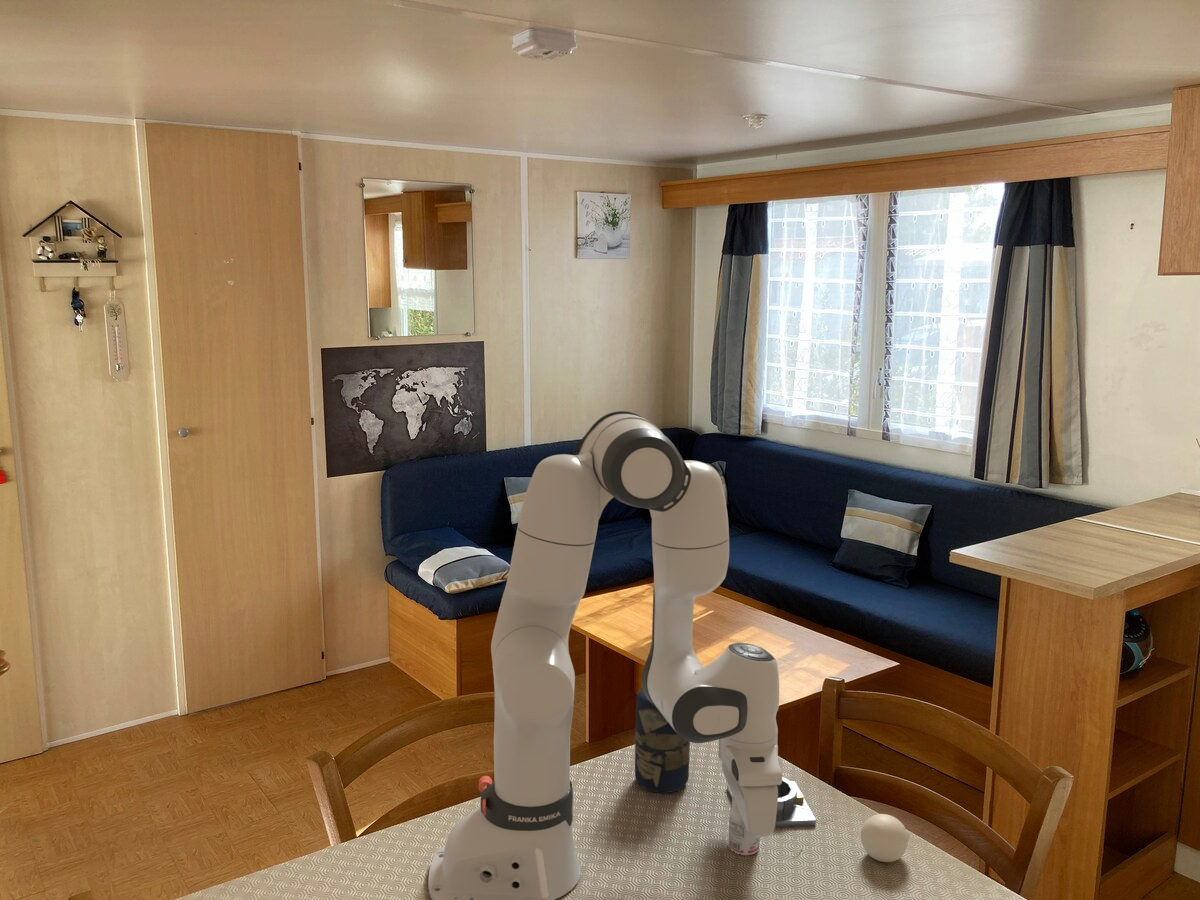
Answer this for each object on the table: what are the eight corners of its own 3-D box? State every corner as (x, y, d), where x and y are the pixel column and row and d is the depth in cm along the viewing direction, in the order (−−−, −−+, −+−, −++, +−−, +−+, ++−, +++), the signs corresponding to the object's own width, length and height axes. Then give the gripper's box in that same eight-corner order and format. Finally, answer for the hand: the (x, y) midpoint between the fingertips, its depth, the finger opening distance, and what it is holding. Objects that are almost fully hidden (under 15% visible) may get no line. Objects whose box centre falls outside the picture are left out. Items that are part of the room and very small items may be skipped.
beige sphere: (917, 860, 148) (920, 821, 146) (884, 876, 144) (887, 835, 143) (883, 838, 153) (886, 800, 152) (850, 853, 150) (853, 813, 148)
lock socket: (742, 828, 156) (743, 809, 155) (727, 789, 167) (727, 770, 167) (815, 825, 157) (816, 805, 156) (794, 786, 168) (795, 767, 168)
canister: (624, 785, 168) (625, 689, 165) (652, 763, 176) (654, 670, 172) (671, 803, 163) (673, 704, 159) (698, 779, 171) (701, 684, 167)
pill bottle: (755, 838, 153) (757, 789, 152) (761, 856, 148) (764, 806, 147) (725, 838, 153) (727, 789, 151) (730, 856, 148) (732, 806, 147)
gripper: (713, 716, 157) (711, 793, 160) (742, 782, 137) (739, 869, 140) (751, 715, 158) (748, 792, 161) (786, 780, 138) (781, 867, 141)
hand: (744, 829), depth 150 cm, fingers closed on pill bottle, 5 cm apart
